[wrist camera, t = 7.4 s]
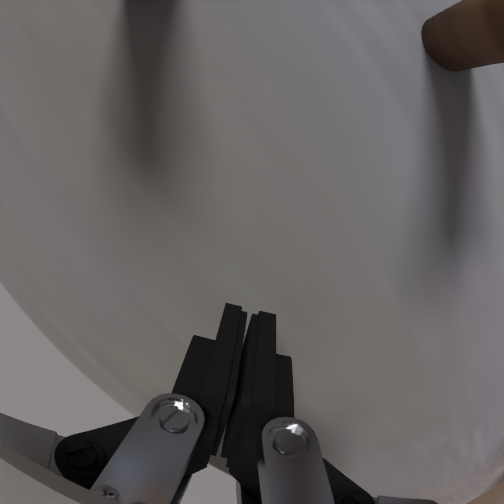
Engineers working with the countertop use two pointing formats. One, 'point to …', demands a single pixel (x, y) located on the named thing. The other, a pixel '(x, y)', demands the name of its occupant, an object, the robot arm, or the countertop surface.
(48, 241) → the countertop surface
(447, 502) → the countertop surface
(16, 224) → the countertop surface
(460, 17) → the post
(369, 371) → the countertop surface
